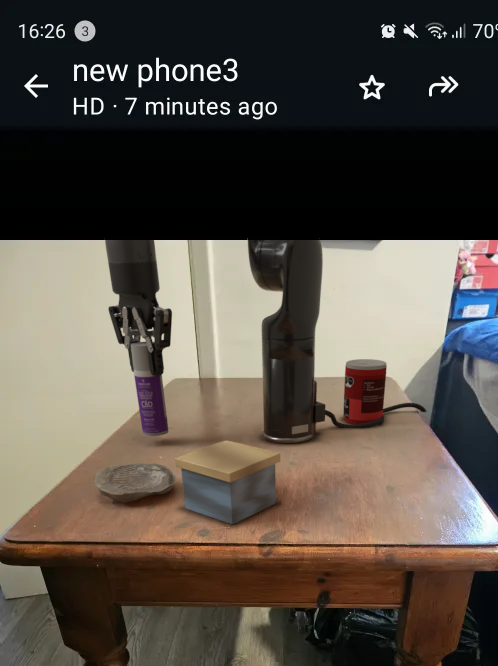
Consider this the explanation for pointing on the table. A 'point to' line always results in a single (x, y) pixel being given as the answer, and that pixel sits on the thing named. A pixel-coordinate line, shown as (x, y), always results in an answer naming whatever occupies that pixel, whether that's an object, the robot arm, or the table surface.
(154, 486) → the fossil
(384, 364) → the canned food
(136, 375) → the container
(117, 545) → the table surface
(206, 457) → the board box
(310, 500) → the table surface
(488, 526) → the table surface
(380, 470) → the table surface
